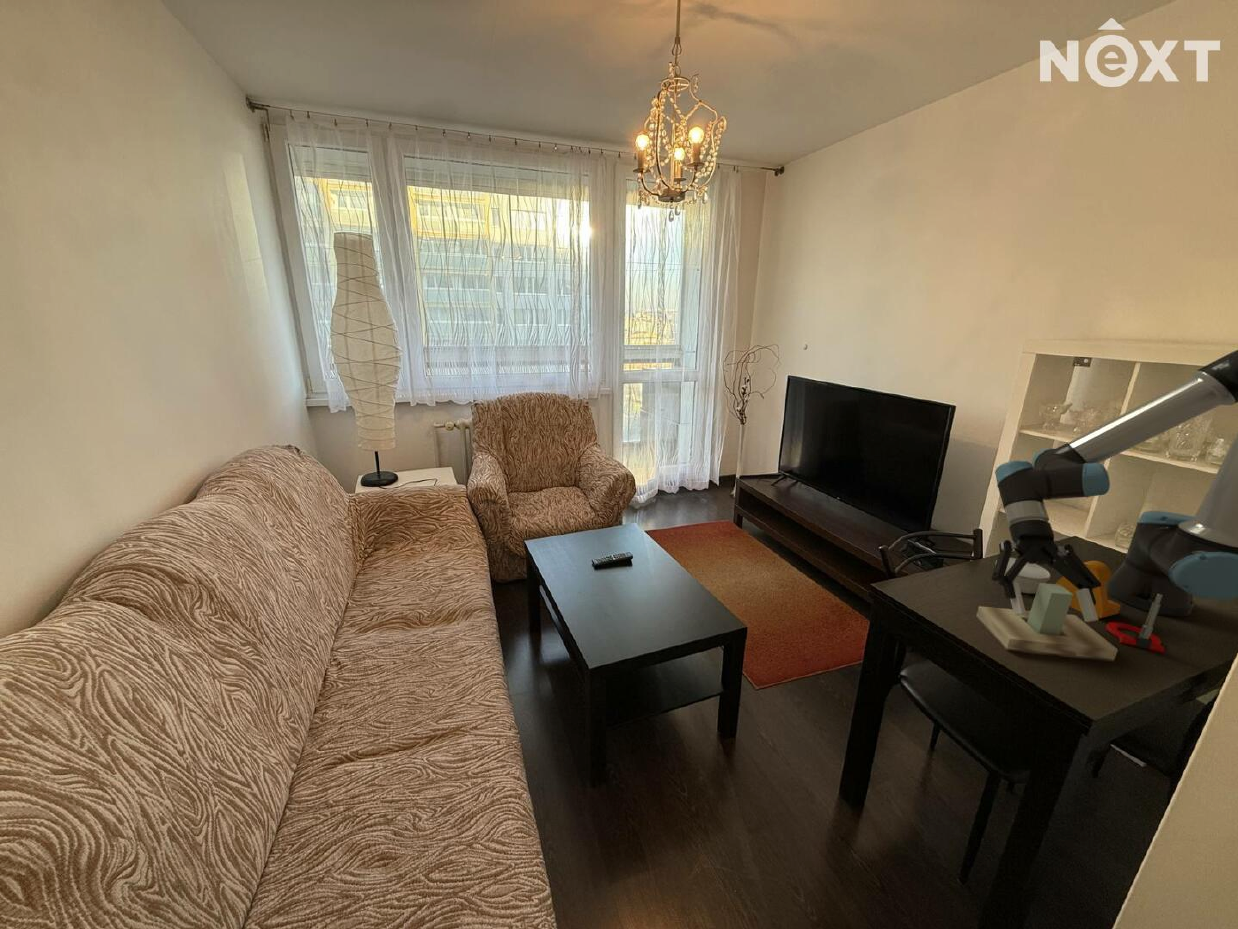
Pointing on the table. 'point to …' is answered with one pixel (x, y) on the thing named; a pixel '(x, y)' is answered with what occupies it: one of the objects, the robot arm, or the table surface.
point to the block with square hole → (1045, 636)
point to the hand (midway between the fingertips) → (1055, 617)
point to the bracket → (1095, 590)
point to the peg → (1049, 609)
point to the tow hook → (1140, 630)
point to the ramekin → (1029, 576)
